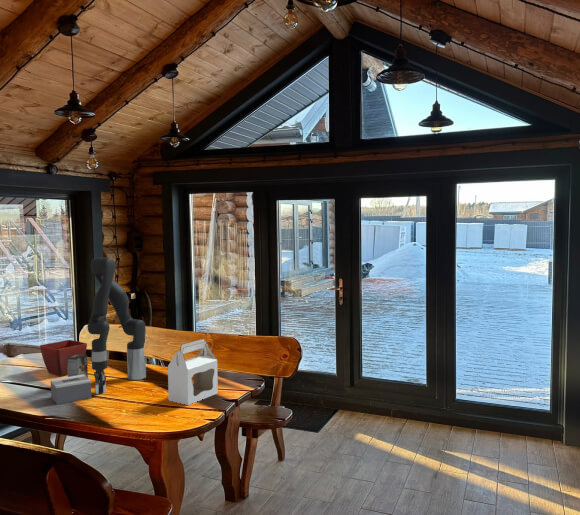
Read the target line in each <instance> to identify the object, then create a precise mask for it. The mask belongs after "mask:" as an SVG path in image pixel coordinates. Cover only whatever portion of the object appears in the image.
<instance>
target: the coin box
mask: <svg viewBox="0 0 580 515" xmlns="http://www.w3.org/2000/svg"><path fill="white" fill-rule="evenodd" d="M50 397H51V399H52V400H53V401H54V403H55V404H56V405H62V404H67V403H72V402H78V401H82V400H84V401H85V400H88V399H89V400H90V399H92V381H91V379H90V378H89V376H88V377H86V376H85V375H84V374H83V375H77V376H71V377H68V376H65V377H61V378H60V377H59V378H52V379H50Z"/></svg>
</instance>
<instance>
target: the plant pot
mask: <svg viewBox="0 0 580 515" xmlns="http://www.w3.org/2000/svg"><path fill="white" fill-rule="evenodd" d="M87 346H88V343H87V342H83V341H77V340H73V339H67V340H66V339H65V340H62V341H61V340H60V341H55V342H51V343H50V342H49V343H44V344H40V345H39V347H40V349H39V350H40V353H41V356H42V360H43V362H44V366H45V368H46V370H47V373H48V374H50V375H54V376H58V377H63V376H68V369H67V358H69V357H71V356H74V355H76V354H84V355H87V354H86V352H87Z"/></svg>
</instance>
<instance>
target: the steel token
mask: <svg viewBox="0 0 580 515" xmlns="http://www.w3.org/2000/svg"><path fill="white" fill-rule="evenodd" d="M106 393H107V383H106V382H105V385H104V386H103V393H102V394H106ZM94 394H95V395H100V394H99V386H98V383H94Z"/></svg>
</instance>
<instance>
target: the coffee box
mask: <svg viewBox="0 0 580 515" xmlns="http://www.w3.org/2000/svg"><path fill="white" fill-rule="evenodd" d="M67 369H68V375H67V377H71V376H77V375H83V374H84V375H85V376H86V377H88V378H89V374H88V372H89V371H88V354H85V355H84V354H76V355H74V356H71V357H69V358H67Z"/></svg>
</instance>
